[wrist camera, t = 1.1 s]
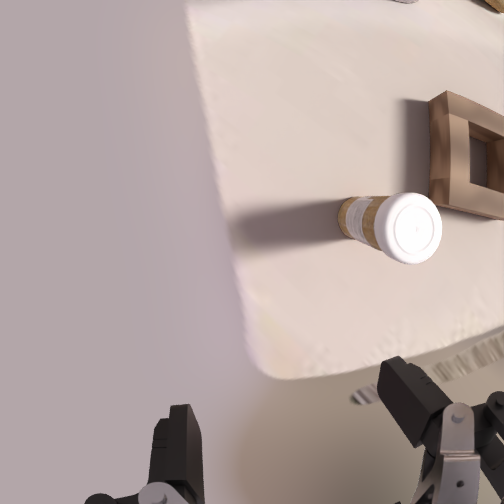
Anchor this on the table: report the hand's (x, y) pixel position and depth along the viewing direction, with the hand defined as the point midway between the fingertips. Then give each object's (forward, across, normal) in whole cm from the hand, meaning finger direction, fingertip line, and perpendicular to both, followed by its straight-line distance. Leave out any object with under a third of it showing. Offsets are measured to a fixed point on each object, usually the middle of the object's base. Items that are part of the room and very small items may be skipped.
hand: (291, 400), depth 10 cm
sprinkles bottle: (+19, -13, -2) cm, 23 cm away
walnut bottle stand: (+17, -29, -8) cm, 34 cm away
